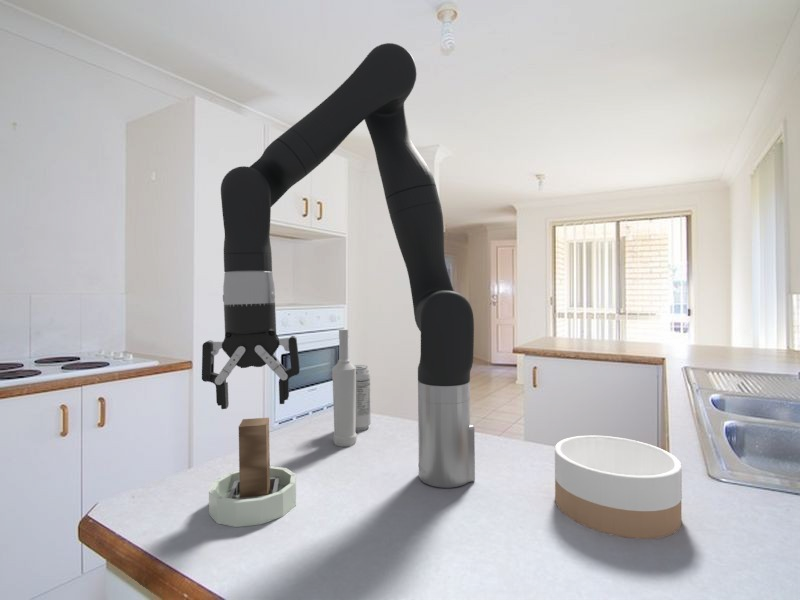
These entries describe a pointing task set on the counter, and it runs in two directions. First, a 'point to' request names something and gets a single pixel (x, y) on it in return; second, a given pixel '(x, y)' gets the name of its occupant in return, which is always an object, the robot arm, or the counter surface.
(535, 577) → the counter surface
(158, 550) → the counter surface
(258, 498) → the pale green faceted dish
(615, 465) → the bowl
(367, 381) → the energy drink can
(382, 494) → the counter surface
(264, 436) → the brown wooden block
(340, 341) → the bottle
